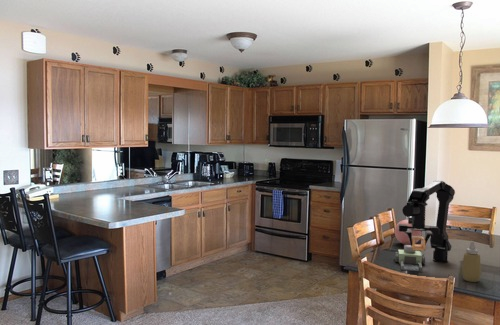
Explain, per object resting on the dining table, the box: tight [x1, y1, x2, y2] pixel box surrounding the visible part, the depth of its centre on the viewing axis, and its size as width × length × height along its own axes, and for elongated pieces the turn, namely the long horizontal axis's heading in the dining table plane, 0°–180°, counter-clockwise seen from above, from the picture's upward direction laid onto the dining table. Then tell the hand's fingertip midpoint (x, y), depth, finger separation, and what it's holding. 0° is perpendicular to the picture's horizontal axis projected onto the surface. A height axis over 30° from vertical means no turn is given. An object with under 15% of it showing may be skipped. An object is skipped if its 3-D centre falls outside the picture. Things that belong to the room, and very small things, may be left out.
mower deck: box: [394, 244, 426, 266], centre depth 222 cm, size 14×9×8 cm, turn 73°
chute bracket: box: [399, 260, 423, 273], centre depth 212 cm, size 10×11×2 cm
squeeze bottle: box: [461, 240, 482, 283], centre depth 194 cm, size 8×8×18 cm
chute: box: [411, 236, 426, 252], centre depth 211 cm, size 6×9×5 cm, turn 165°
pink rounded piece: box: [394, 219, 423, 245], centre depth 256 cm, size 15×20×15 cm
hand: (417, 246), depth 211 cm, fingers closed on chute, 6 cm apart
